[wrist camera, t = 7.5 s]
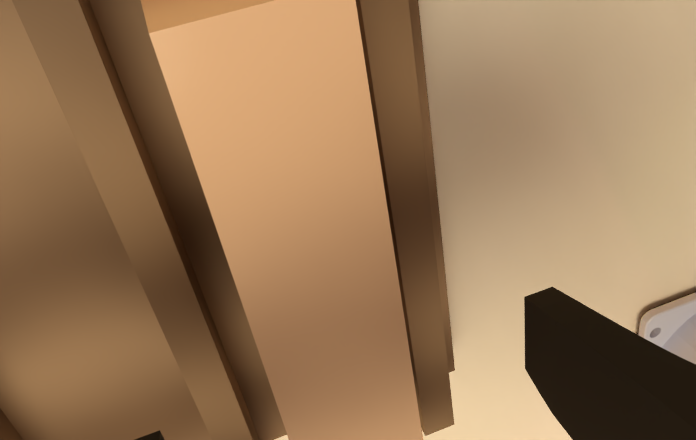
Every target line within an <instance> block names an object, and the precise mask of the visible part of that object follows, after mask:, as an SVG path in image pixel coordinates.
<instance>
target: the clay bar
mask: <svg viewBox="0 0 696 440" xmlns="http://www.w3.org/2000/svg"><path fill="white" fill-rule="evenodd" d="M141 4H142V8H143V12H144V16H145V20H146V24H147V28H148V32H149V35H150V38H151V41H152V44H153V47H154V50H155V53H156V56H157V58H158V61H159V64H160V67H161V70H162V73H163V76H164V79H165V82H166V85H167V87H168V90H169V93H170V96H171V99H172V102H173V105H174V108H175V111H176V113H177V116H178V119H179V122H180V125H181V128H182V131H183V134H184V137H185V140H186V142H187V145H188V148H189V151H190V154H191V157H192V160H193V163H194V166H195V169H196V171H197V174H198V177H199V180H200V183H201V186H202V189H203V192H204V195H205V198H206V200H207V203H208V206H209V209H210V212H211V215H212V218H213V221H214V224H215V227H216V229H217V232H218V235H219V238H220V241H221V244H222V247H223V250H224V253H225V256H226V258H227V261H228V264H229V267H230V270H231V273H232V276H233V279H234V282H235V285H236V287H237V290H238V293H239V296H240V299H241V302H242V305H243V308H244V311H245V314H246V316H247V319H248V322H249V325H250V328H251V331H252V334H253V337H254V340H255V343H256V345H257V348H258V351H259V354H260V357H261V360H262V363H263V366H264V369H265V372H266V374H267V377H268V380H269V383H270V386H271V389H272V392H273V395H274V398H275V401H276V403H277V406H278V409H279V412H280V415H281V418H282V421H283V424H284V427H285V430H286V432H287V435H288V438H289V440H423V436H422V429H421V423H420V416H419V410H418V403H417V397H416V390H415V384H414V377H413V371H412V364H411V358H410V351H409V345H408V338H407V332H406V325H405V319H404V312H403V306H402V299H401V293H400V286H399V280H398V273H397V267H396V260H395V254H394V247H393V241H392V234H391V228H390V221H389V215H388V208H387V202H386V195H385V189H384V182H383V176H382V169H381V163H380V156H379V150H378V143H377V137H376V130H375V124H374V117H373V111H372V104H371V98H370V91H369V85H368V78H367V72H366V65H365V59H364V52H363V46H362V39H361V33H360V26H359V20H358V13H357V7H356V0H141Z"/></svg>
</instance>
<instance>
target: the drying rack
mask: <svg viewBox="0 0 696 440" xmlns="http://www.w3.org/2000/svg"><path fill="white" fill-rule="evenodd" d="M356 7H357V13H358V20H359V26H360V33H361V39H362V46H363V52H364V59H365V65H366V72H367V78H368V85H369V91H370V98H371V104H372V111H373V117H374V124H375V130H376V137H377V143H378V150H379V156H380V163H381V169H382V176H383V182H384V189H385V195H386V202H387V208H388V215H389V221H390V228H391V234H392V241H393V247H394V254H395V260H396V267H397V273H398V280H399V286H400V293H401V299H402V306H403V312H404V319H405V325H406V332H407V338H408V345H409V351H410V358H411V364H412V371H413V377H414V384H415V390H416V397H417V403H418V410H419V416H420V423H421V428H422V430H423V432H424V434H425V436H426V435H429V434H431V433H434V432H436V431H439V430H441V429H444V428H446V427H449V426H451V425H454V418H453V409H452V399H451V390H450V381H449V372H452V371H454V370H455V368H454V358H453V348H452V337H451V327H450V317H449V307H448V297H447V287H446V277H445V267H444V257H443V247H442V237H441V227H440V217H439V207H438V197H437V187H436V177H435V167H434V157H433V147H432V137H431V127H430V116H429V106H428V96H427V86H426V76H425V66H424V56H423V46H422V36H421V26H420V16H419V6H418V0H356ZM159 430H160V432H161V433H162V435H163V437H164V439H165V440H274V439H276V438H279V437H281V436H284V435H287V432H286V430H285V427H284V424H283V421H282V418H281V415H280V412H279V409H278V406H277V403H276V401H275V398H274V395H273V392H272V389H271V386H270V383H269V380H268V377H267V374H266V372H265V369H264V366H263V363H262V360H261V357H260V354H259V351H258V348H257V345H256V343H255V340H254V337H253V334H252V331H251V328H250V325H249V322H248V319H247V316H246V314H245V311H244V308H243V305H242V302H241V299H240V296H239V293H238V290H237V287H236V285H235V282H234V279H233V276H232V273H231V270H230V267H229V264H228V261H227V258H226V256H225V253H224V250H223V247H222V244H221V241H220V238H219V235H218V232H217V229H216V227H215V224H214V221H213V218H212V215H211V212H210V209H209V206H208V203H207V200H206V198H205V195H204V192H203V189H202V186H201V183H200V180H199V177H198V174H197V171H196V169H195V166H194V163H193V160H192V157H191V154H190V151H189V148H188V145H187V142H186V140H185V137H184V134H183V131H182V128H181V125H180V122H179V119H178V116H177V113H176V111H175V108H174V105H173V102H172V99H171V96H170V93H169V90H168V87H167V85H166V82H165V79H164V76H163V73H162V70H161V67H160V64H159V61H158V58H157V56H156V53H155V50H154V47H153V44H152V41H151V38H150V35H149V32H148V28H147V24H146V20H145V16H144V12H143V8H142V4H141V0H0V440H134V439H137V438H140V437H143V436H145V435H148V434H151V433H154V432H156V431H159Z"/></svg>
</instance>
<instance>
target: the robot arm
mask: <svg viewBox="0 0 696 440" xmlns="http://www.w3.org/2000/svg"><path fill="white" fill-rule="evenodd" d="M525 369H526V371H527V372H528V374H529V376H530V378H531V379H532V381H533V383H534V384H535V386H536V388H537V389H538V391H539V393H540V394H541V396H542V398H543V399H544V401H545V402H546V404H547V406H548V407H549V409H550V410H551V412H552V413H553V415H554V416H555V417H556V419H557V420H558V421H559V423H560V424H561V425H562V426H563V428H564V429H565V430H566V432H567V433H568V434H569V435H570V437H571V438H572V439H573V440H696V292H695V293H692V294H690V295H687V296H685V297H682V298H680V299H677V300H674V301H672V302H669V303H667V304H664V305H661V306H659V307H656V308H654V309H651V310H649V311H647V312H646V313H645V314H644V315H643V316H642V318H641V321H640V327H639V334H638V335H637V334H635V333H633V332H631V331H630V330H628V329H626V328H624V327H622V326H620V325H619V324H617V323H615V322H613V321H612V320H610V319H608V318H606V317H604V316H603V315H601V314H599V313H597V312H596V311H594V310H592V309H590V308H589V307H587V306H585V305H583V304H582V303H580V302H578V301H576V300H575V299H573V298H571V297H569V296H568V295H566V294H564V293H562V292H561V291H559V290H557V289H555V288H553V287H551V288H548V289H545V290H542V291H540V292H537V293H534V294H531V295H529V296H526V297H525ZM134 440H165V439H164V437H163V435H162V433H161V432H160V430H159V431H156V432H154V433H151V434H148V435H145V436H143V437H140V438H137V439H134Z"/></svg>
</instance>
